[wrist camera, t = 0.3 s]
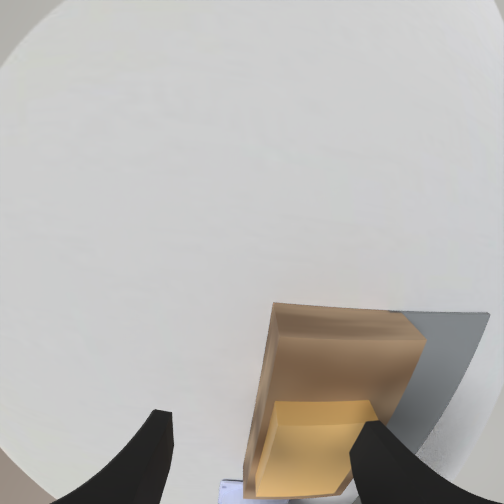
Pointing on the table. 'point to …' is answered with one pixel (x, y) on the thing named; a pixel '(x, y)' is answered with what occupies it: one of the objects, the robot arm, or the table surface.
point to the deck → (331, 367)
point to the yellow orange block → (309, 447)
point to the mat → (435, 371)
